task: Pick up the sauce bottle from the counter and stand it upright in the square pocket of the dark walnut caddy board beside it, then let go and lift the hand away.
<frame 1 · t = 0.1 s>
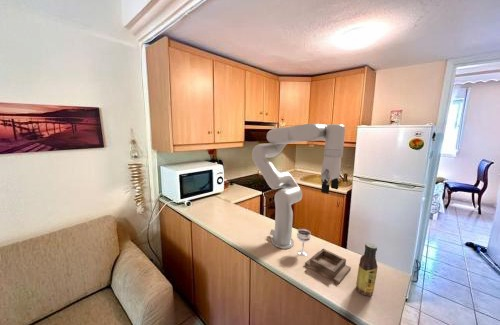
hand: (329, 190, 91), 37 cm above the worktop, tool pointing down, fingers open, 9 cm apart
sauce bottle: (364, 290, 82), on the worktop
caddy: (327, 267, 95), on the worktop
wineglass: (302, 253, 105), on the worktop
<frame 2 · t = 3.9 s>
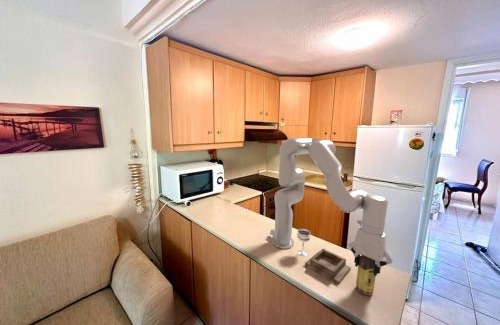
hand: (366, 269, 80), 10 cm above the worktop, tool pointing down, fingers closed on sauce bottle, 6 cm apart
sauce bottle: (364, 290, 82), on the worktop, touching gripper
everything else where it was.
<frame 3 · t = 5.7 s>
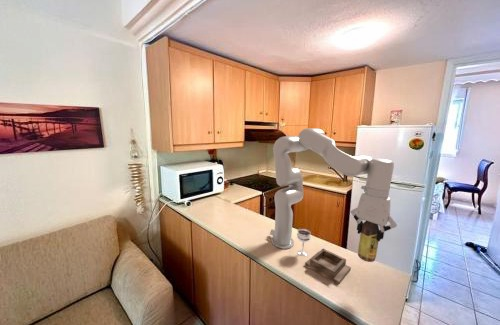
hand: (369, 235, 78), 24 cm above the worktop, tool pointing down, fingers closed on sauce bottle, 6 cm apart
sauce bottle: (366, 258, 80), point 14 cm above the worktop, touching gripper
everything else where it was.
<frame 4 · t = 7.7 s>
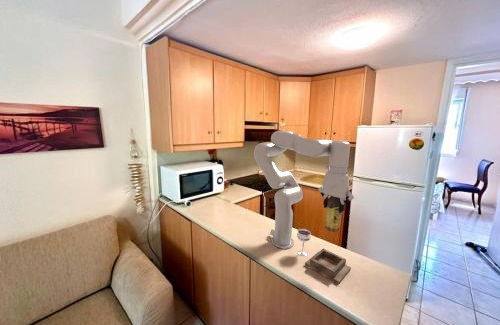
hand: (333, 209, 90), 29 cm above the worktop, tool pointing down, fingers closed on sauce bottle, 6 cm apart
sauce bottle: (332, 229, 92), point 19 cm above the worktop, touching gripper
everything else where it was.
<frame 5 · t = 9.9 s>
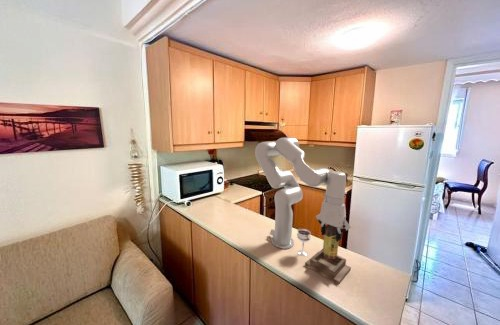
hand: (330, 236, 92), 16 cm above the worktop, tool pointing down, fingers closed on sauce bottle, 6 cm apart
sauce bottle: (329, 256, 94), point 6 cm above the worktop, touching gripper
everything else where it was.
when the fingers open (12 cm above the worktop, at t = 11.7 s): sauce bottle stays where it is, resting on caddy.
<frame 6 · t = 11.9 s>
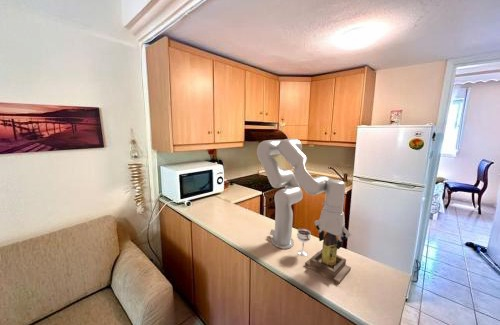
hand: (329, 243, 93), 12 cm above the worktop, tool pointing down, fingers open, 7 cm apart
sauce bottle: (328, 264, 95), point 1 cm above the worktop, touching caddy
everything else where it was.
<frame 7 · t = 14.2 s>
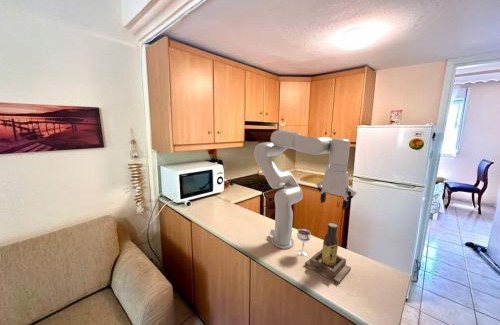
hand: (333, 205, 89), 31 cm above the worktop, tool pointing down, fingers open, 9 cm apart
nothing on the worktop moved.
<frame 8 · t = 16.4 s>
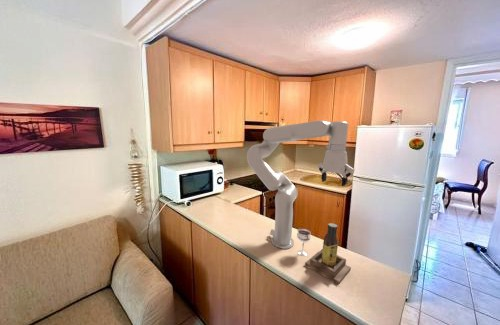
hand: (333, 183, 98), 38 cm above the worktop, tool pointing down, fingers open, 9 cm apart
nothing on the worktop moved.
at the end: sauce bottle 0.5 cm off-centre on the caddy, point 1.3 cm above the caddy's base; sauce bottle tilted 0°; the gripper is holding nothing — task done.
